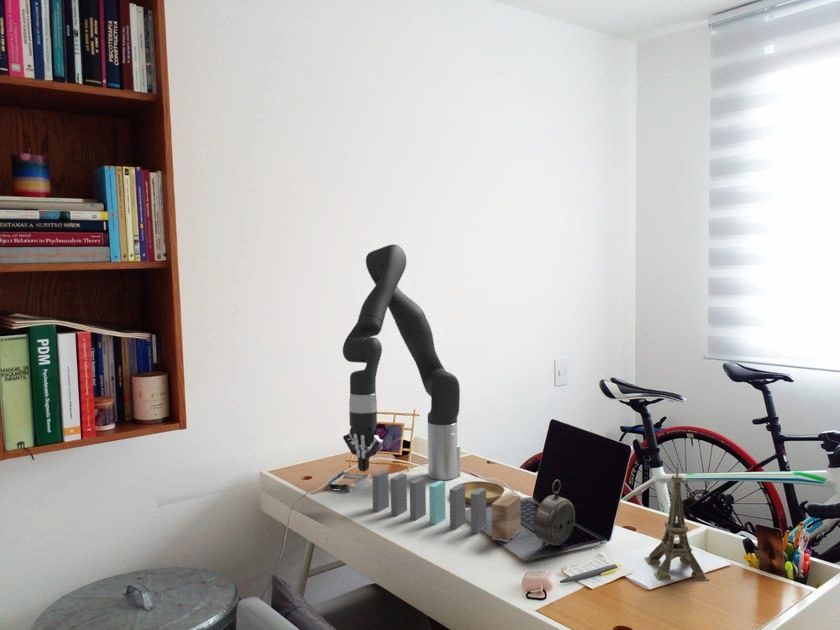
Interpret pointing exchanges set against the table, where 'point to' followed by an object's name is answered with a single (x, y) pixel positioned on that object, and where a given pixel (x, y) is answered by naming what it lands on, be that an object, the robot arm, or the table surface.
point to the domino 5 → (457, 506)
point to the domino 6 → (478, 510)
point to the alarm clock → (554, 519)
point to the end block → (506, 517)
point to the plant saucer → (491, 488)
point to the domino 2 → (398, 494)
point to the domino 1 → (380, 491)
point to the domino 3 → (417, 498)
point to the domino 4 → (437, 502)
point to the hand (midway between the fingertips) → (363, 470)
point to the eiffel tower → (675, 546)
